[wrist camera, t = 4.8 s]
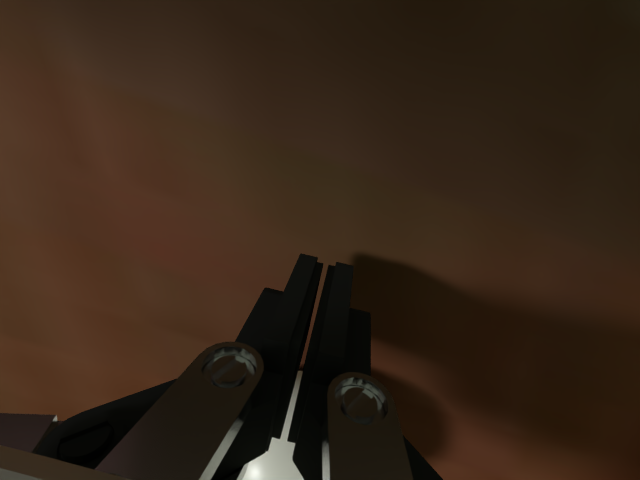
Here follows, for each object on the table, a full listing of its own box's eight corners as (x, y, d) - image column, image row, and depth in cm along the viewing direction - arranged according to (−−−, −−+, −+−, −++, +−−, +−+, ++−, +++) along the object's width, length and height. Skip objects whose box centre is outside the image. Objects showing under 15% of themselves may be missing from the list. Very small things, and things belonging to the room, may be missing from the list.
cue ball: (173, 596, 10) (234, 460, 15) (367, 632, 9) (357, 480, 15) (192, 410, 9) (247, 340, 15) (393, 440, 9) (373, 358, 14)
